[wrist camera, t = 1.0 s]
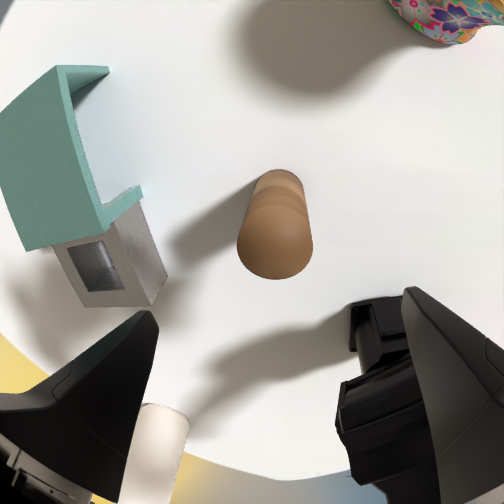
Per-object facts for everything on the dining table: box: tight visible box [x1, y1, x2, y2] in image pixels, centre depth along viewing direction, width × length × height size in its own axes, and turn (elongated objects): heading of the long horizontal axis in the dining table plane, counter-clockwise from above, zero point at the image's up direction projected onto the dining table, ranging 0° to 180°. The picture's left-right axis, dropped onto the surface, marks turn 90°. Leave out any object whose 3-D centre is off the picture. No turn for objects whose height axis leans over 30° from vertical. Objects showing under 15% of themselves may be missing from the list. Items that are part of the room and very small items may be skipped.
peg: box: [237, 169, 313, 280], centre depth 16 cm, size 4×4×8 cm
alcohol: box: [113, 404, 190, 504], centre depth 28 cm, size 9×9×30 cm
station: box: [0, 65, 168, 307], centre depth 19 cm, size 19×10×6 cm, turn 12°
